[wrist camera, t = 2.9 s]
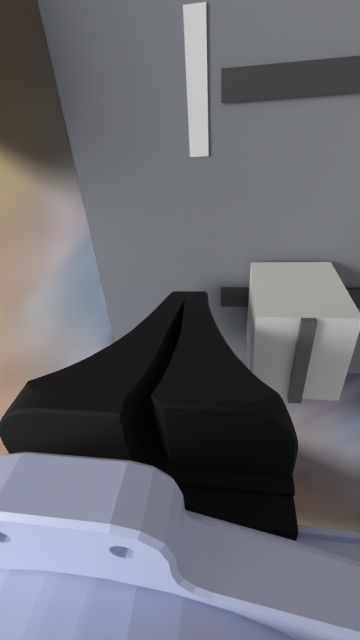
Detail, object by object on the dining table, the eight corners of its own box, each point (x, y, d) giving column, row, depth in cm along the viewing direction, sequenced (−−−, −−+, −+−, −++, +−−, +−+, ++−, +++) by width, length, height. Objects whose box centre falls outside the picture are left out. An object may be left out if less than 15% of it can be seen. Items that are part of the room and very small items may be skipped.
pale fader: (315, 333, 14) (340, 405, 10) (246, 332, 14) (250, 400, 11) (330, 261, 12) (365, 323, 9) (250, 262, 12) (256, 321, 9)
